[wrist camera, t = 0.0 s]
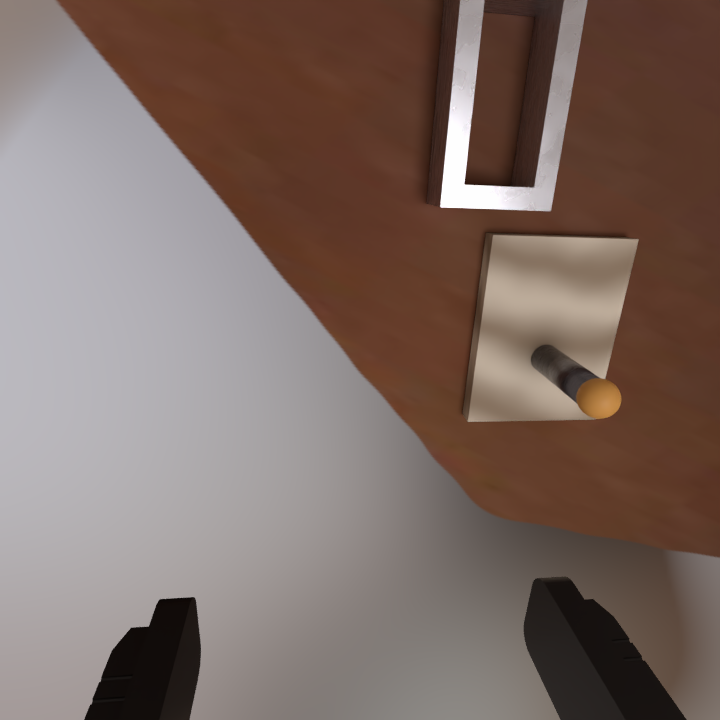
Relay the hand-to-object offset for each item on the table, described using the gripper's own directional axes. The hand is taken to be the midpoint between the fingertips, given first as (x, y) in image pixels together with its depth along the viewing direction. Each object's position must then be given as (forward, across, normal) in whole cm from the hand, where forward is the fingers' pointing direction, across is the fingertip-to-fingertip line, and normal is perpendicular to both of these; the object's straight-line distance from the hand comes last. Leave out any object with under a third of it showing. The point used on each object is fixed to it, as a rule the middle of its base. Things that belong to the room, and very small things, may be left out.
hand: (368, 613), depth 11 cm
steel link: (+29, -12, -15) cm, 35 cm away
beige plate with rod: (+29, -19, +2) cm, 35 cm away
